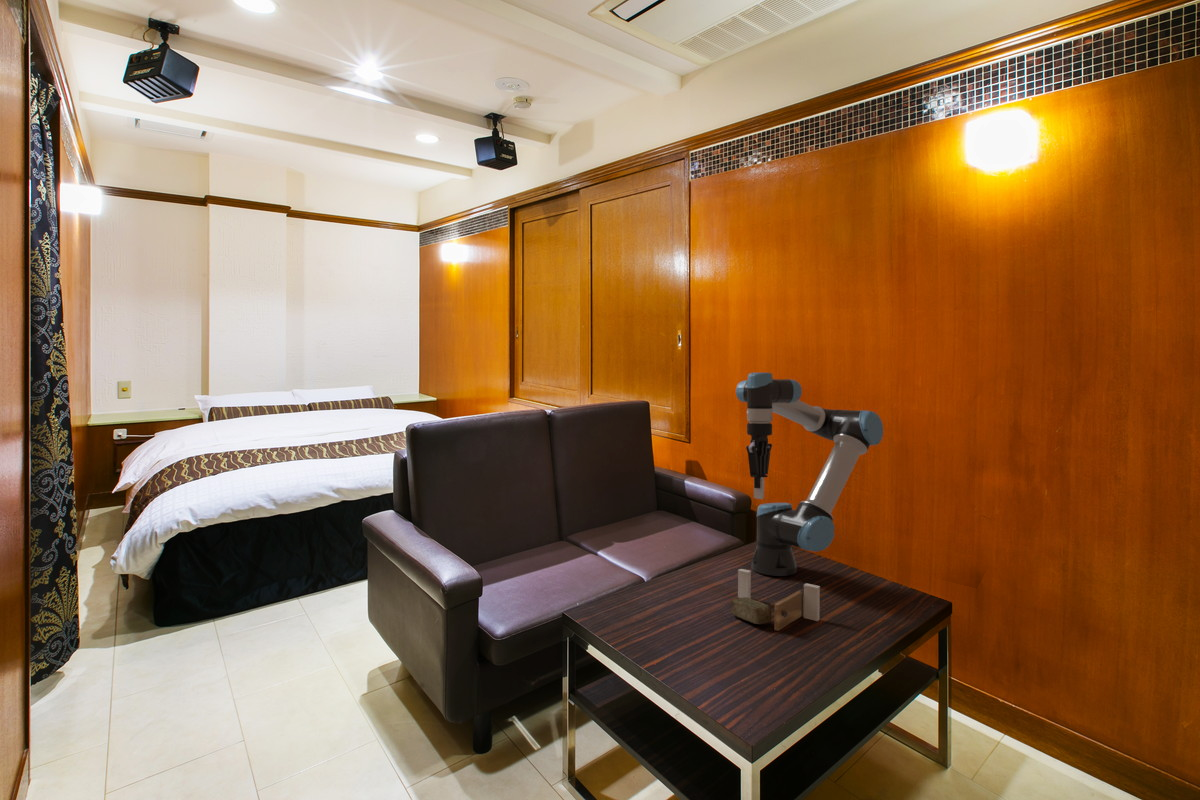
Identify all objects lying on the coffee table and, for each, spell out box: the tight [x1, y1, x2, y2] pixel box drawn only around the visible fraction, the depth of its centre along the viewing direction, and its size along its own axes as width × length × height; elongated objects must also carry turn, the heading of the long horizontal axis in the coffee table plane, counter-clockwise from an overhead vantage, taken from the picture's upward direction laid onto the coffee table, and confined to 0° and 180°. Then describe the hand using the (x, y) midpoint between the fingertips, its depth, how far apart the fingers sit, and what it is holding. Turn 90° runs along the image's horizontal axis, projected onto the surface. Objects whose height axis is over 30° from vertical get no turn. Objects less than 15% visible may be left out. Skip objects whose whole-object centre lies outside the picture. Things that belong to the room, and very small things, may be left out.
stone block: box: [731, 597, 773, 625], centre depth 167 cm, size 6×12×5 cm, turn 29°
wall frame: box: [737, 568, 821, 622], centre depth 175 cm, size 2×25×10 cm, turn 49°
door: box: [773, 589, 804, 631], centre depth 165 cm, size 3×16×7 cm, turn 137°
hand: (759, 498), depth 181 cm, fingers closed
